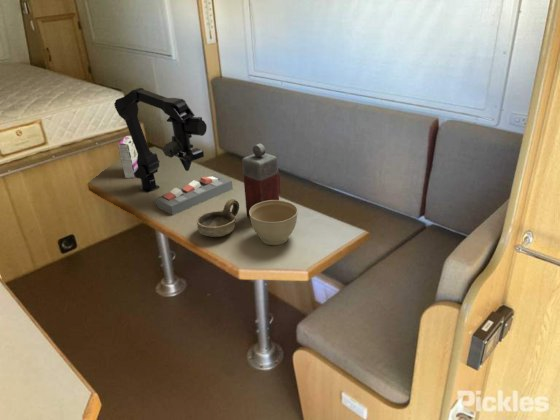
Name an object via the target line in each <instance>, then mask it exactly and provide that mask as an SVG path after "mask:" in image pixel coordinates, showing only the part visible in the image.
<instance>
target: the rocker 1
mask: <svg viewBox="0 0 560 420" xmlns="http://www.w3.org/2000/svg"><path fill="white" fill-rule="evenodd" d="M165 194H166V195H165V196H163V197H164V199H166V200H168V201H169V200H172V199H174V198H177V197H179V196H180V195H181V194H183V193H182V191H181V190H180V189H179V188H178V187H176V186H175V187H174V188H173V189H171V190H170V191H168V192H167V193H165Z"/></svg>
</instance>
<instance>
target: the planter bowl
mask: <svg viewBox="0 0 560 420" xmlns="http://www.w3.org/2000/svg"><path fill="white" fill-rule="evenodd" d="M298 211H299V209H298V207H297V205H295V204H294V203H292V202H290V201H286V200H281V199H279V200H269V201H264V202H260V203H257V204H255V205H254V206H253V207H251V209H250V211H249V215H250V217H249V218H250V223H251V226H252V228H253V230H254V232H255V233H256V234H257V235H258V237H259V238H260V241H261V242H262V243H263V244H265V245H269V246H279V245H283V244H285V243H286V242H287V241H288V240H289V238H290V236H291V235H292V233H293V232H294V230H295V228H296V226H297V225H296V224H297V221H298V215H299V214H298Z"/></svg>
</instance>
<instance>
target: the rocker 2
mask: <svg viewBox="0 0 560 420" xmlns="http://www.w3.org/2000/svg"><path fill="white" fill-rule="evenodd" d="M197 181H198V180H196V179H194V180H192V181H190V182H189V183H188V184H187V185H184V186H185V187H184V186H183V187H184V188H183V189H182V190H183V192H184V193H189V192H191V191H193V190H196V189H198V188H199V187H200V186H201V185H200V182H197Z"/></svg>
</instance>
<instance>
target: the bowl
mask: <svg viewBox="0 0 560 420" xmlns="http://www.w3.org/2000/svg"><path fill="white" fill-rule="evenodd" d="M223 206H224V207H223V210H214V211H210V212H206V213H205V212H204V213H203V214H201V215H199V216H198V217H197V218H196V223H197V224H196V225H197V230H198V232H199V234H200V235H203V236H206V237H212V238H218V237H224V236H226V235H228V234H230V233H232V232H233V231H234V229H235V227H236V220H237V217H236V216H237V215H238V213H239V210H240V203H239V201H238V200H237V199H233V198H231V199H229V200H227V201H226V202H225V203H224V205H223ZM231 208H232V209H231Z"/></svg>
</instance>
